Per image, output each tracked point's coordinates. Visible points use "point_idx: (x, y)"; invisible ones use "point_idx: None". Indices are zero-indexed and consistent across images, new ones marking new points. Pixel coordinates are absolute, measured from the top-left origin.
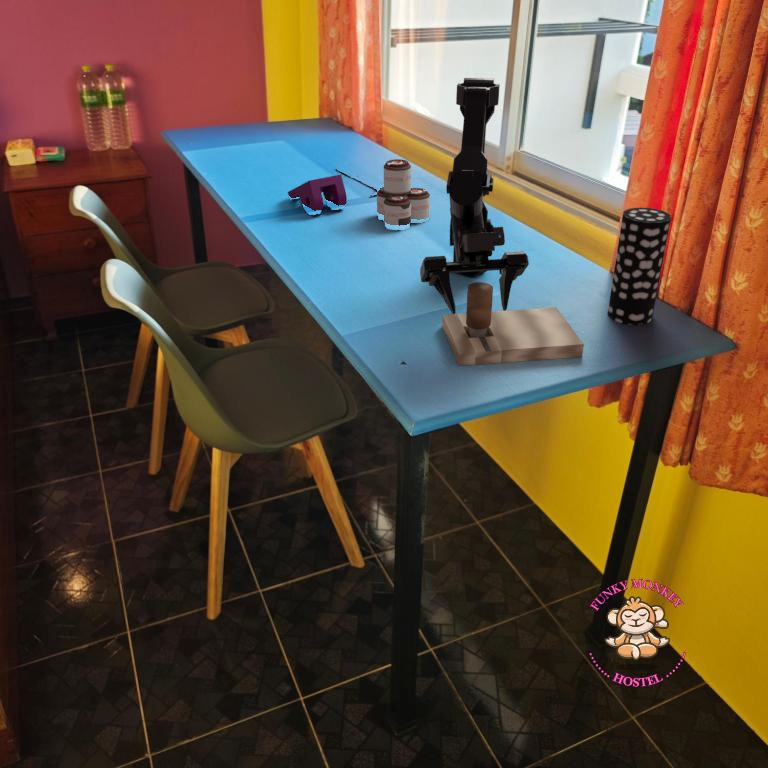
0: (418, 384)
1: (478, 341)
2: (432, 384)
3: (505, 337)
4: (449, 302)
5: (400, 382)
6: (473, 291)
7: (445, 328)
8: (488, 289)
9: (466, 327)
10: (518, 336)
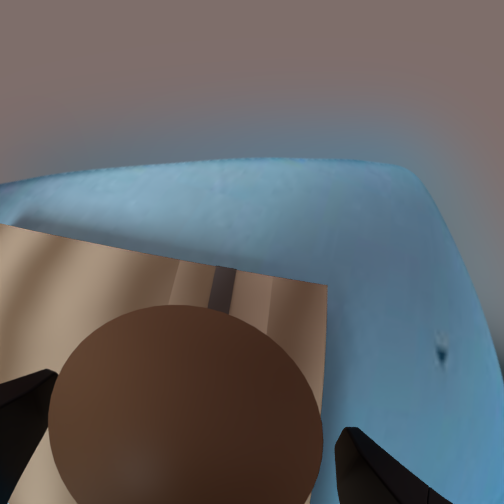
0: (415, 255)
1: None
2: (388, 245)
3: None
4: (393, 460)
5: (445, 273)
6: (293, 361)
7: None
8: (120, 352)
9: None
10: (75, 324)
